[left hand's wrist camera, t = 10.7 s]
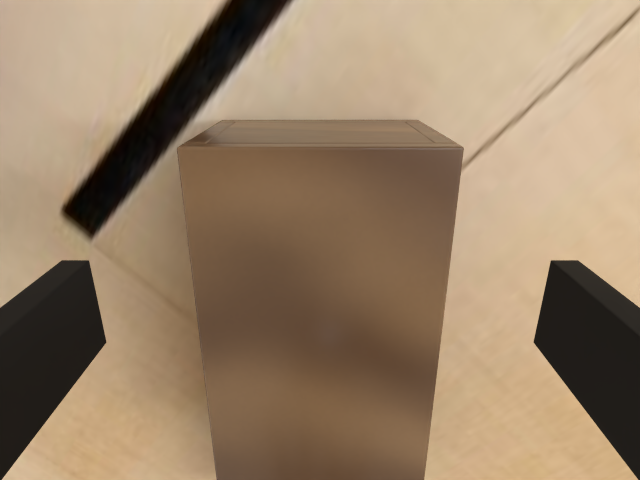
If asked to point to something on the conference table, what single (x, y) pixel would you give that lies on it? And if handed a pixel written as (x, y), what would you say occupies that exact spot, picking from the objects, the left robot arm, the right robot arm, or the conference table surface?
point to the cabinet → (320, 292)
